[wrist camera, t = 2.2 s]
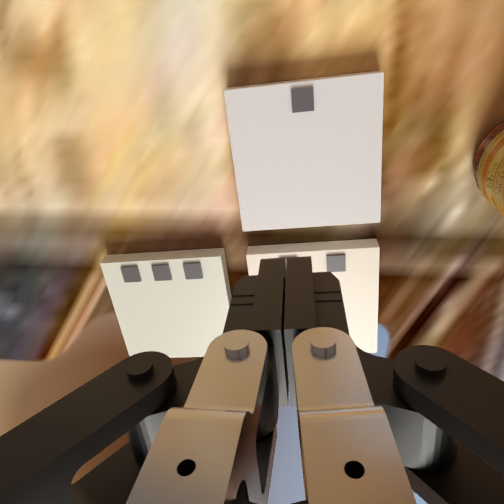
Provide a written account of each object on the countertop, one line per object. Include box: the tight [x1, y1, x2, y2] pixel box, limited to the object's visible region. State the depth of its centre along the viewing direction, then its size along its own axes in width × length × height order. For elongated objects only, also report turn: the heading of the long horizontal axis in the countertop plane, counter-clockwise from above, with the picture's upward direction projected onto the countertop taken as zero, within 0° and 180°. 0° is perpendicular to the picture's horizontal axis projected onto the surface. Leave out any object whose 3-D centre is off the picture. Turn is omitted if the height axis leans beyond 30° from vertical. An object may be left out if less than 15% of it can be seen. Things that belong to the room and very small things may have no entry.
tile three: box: [100, 248, 232, 358], centre depth 36 cm, size 10×10×2 cm
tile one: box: [224, 70, 384, 231], centre depth 29 cm, size 10×10×2 cm
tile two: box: [246, 239, 380, 353], centre depth 35 cm, size 10×10×2 cm
